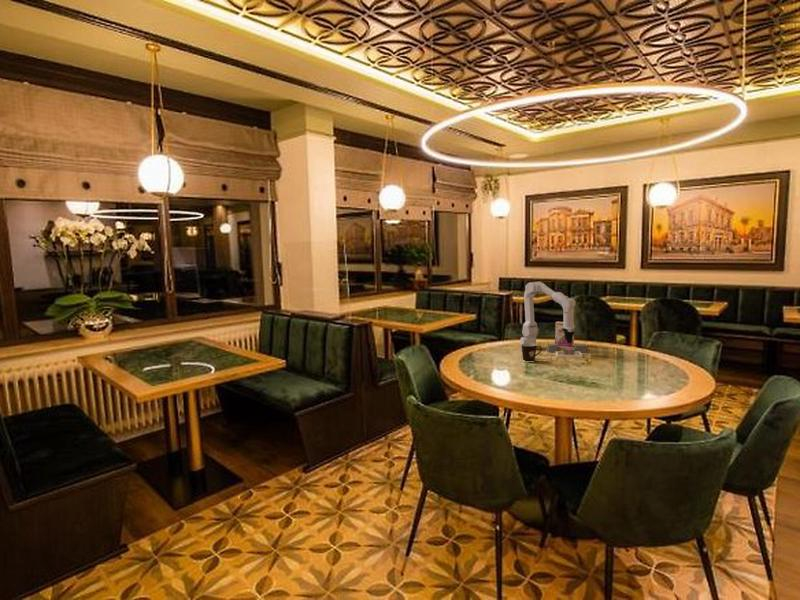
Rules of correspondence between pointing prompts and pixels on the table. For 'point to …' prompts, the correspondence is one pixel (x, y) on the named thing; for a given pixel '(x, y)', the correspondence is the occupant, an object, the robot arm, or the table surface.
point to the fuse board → (572, 347)
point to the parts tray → (569, 355)
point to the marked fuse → (568, 351)
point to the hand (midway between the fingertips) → (568, 341)
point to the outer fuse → (580, 348)
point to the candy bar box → (562, 336)
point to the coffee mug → (529, 351)
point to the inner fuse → (553, 348)
